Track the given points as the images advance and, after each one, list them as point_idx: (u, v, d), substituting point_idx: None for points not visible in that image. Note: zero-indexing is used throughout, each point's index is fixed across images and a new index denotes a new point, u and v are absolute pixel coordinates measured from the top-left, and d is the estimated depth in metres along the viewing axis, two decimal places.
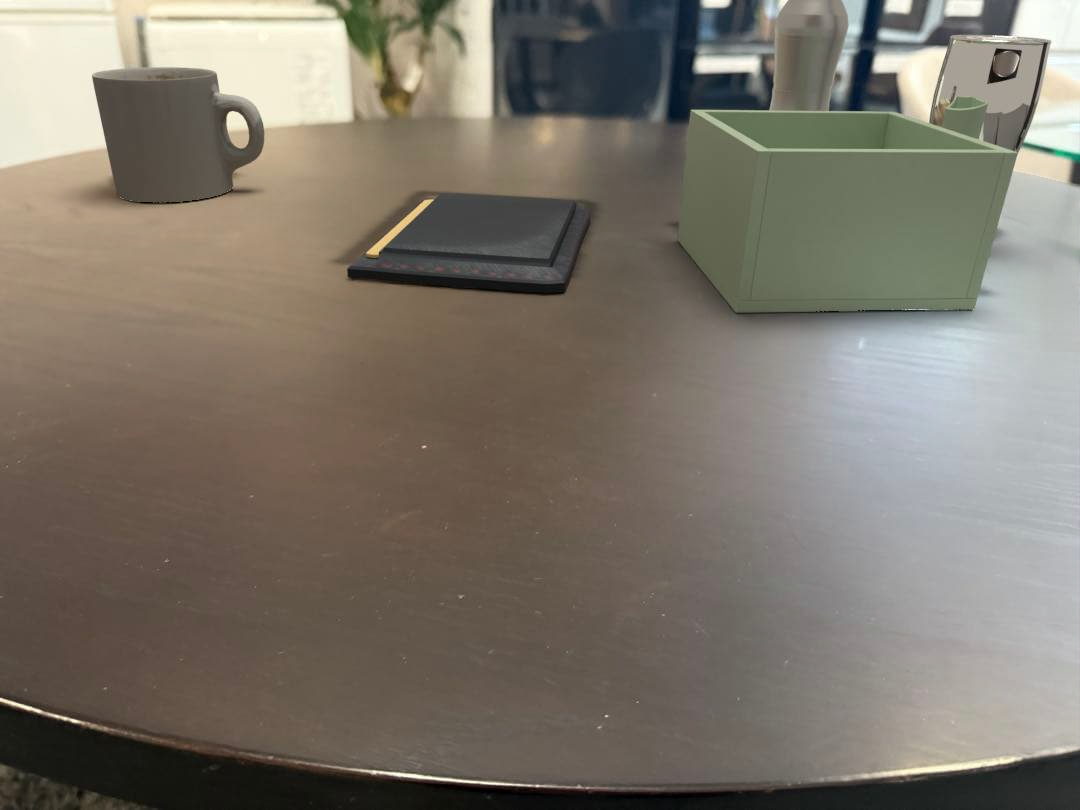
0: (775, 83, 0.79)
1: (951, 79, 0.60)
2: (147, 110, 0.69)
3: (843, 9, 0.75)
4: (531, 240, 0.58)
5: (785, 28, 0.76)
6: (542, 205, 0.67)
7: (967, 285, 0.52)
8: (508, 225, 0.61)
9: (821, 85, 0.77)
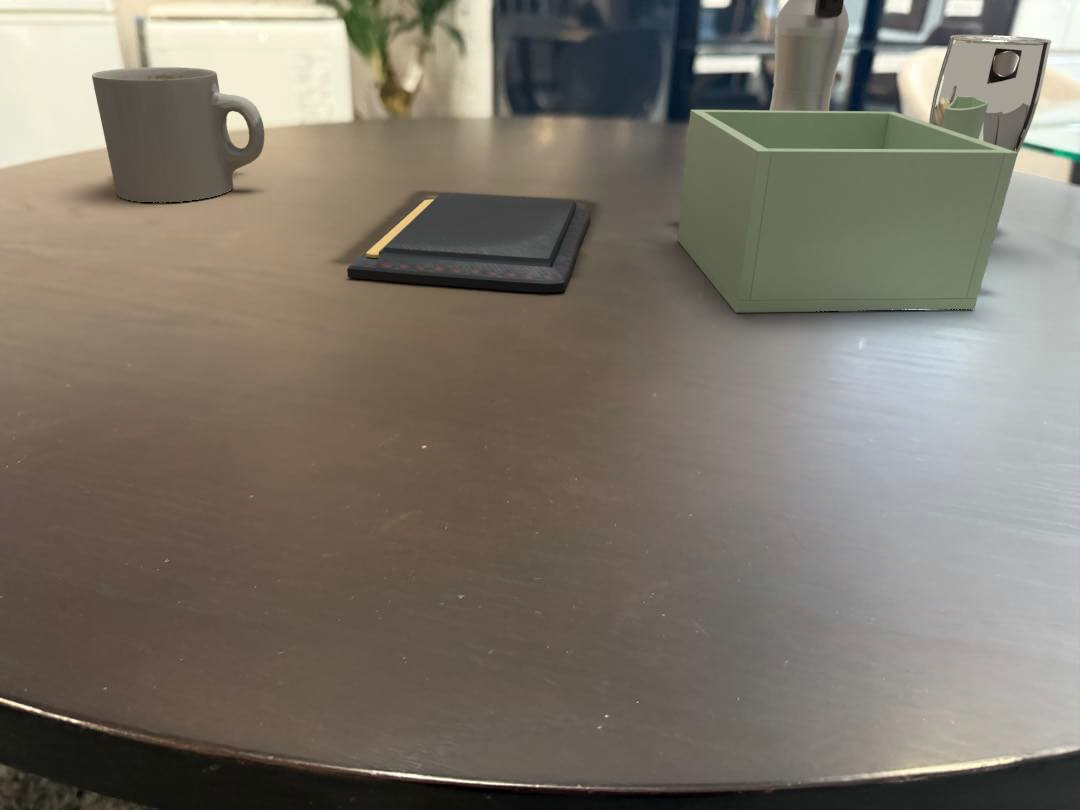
0: (775, 83, 0.79)
1: (950, 79, 0.60)
2: (147, 110, 0.69)
3: (843, 9, 0.75)
4: (531, 240, 0.58)
5: (785, 28, 0.76)
6: (542, 205, 0.67)
7: (967, 285, 0.52)
8: (508, 225, 0.61)
9: (821, 85, 0.77)
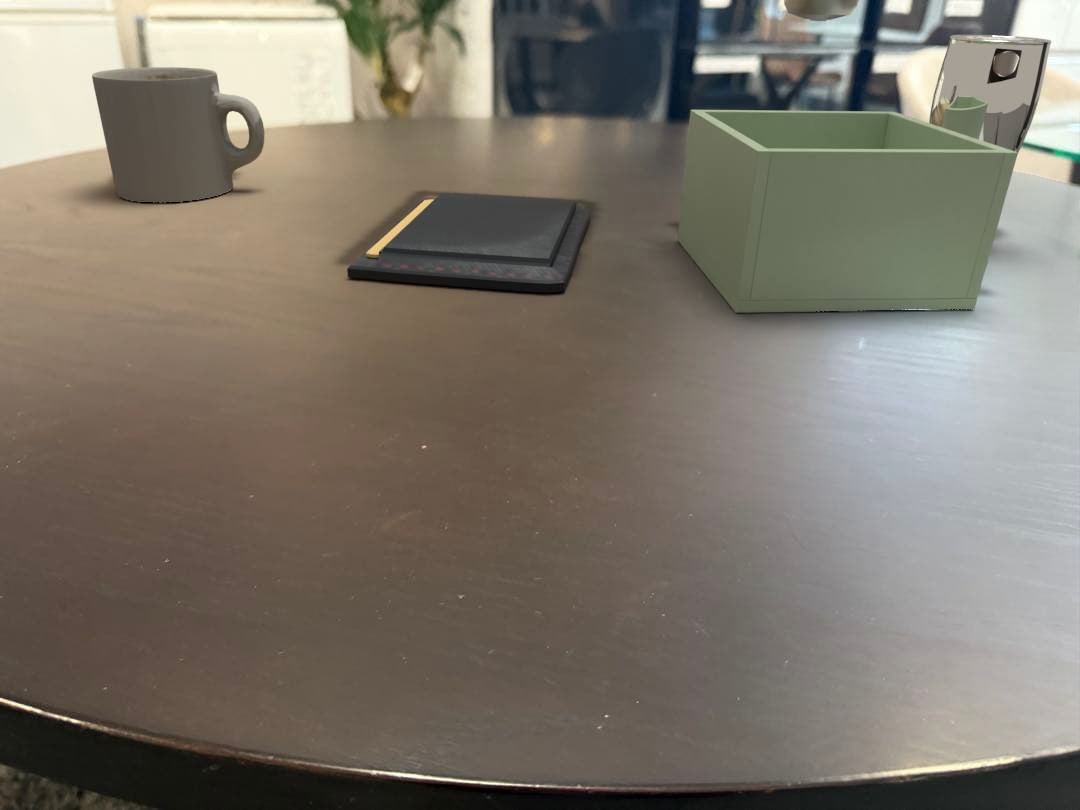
0: None
1: (950, 79, 0.60)
2: (147, 110, 0.69)
3: None
4: (531, 240, 0.58)
5: None
6: (542, 205, 0.67)
7: (967, 285, 0.52)
8: (508, 225, 0.61)
9: None
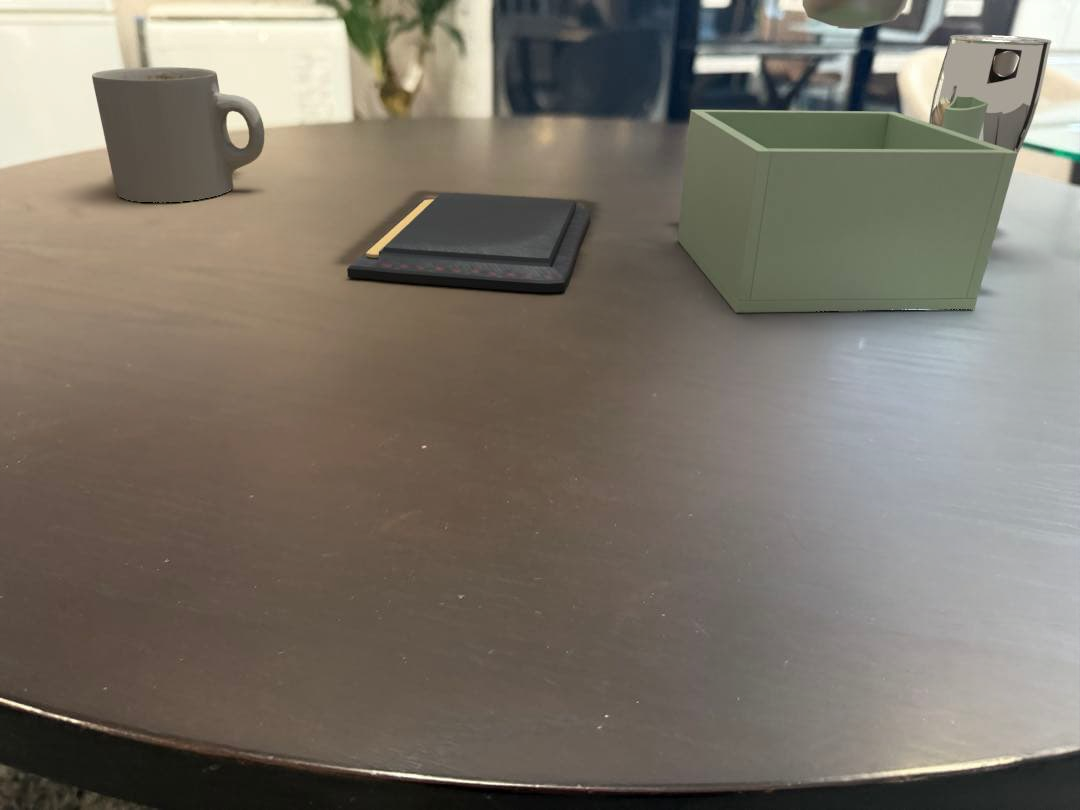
0: None
1: (950, 79, 0.60)
2: (147, 110, 0.69)
3: None
4: (531, 240, 0.58)
5: None
6: (542, 205, 0.67)
7: (967, 285, 0.52)
8: (508, 225, 0.61)
9: None
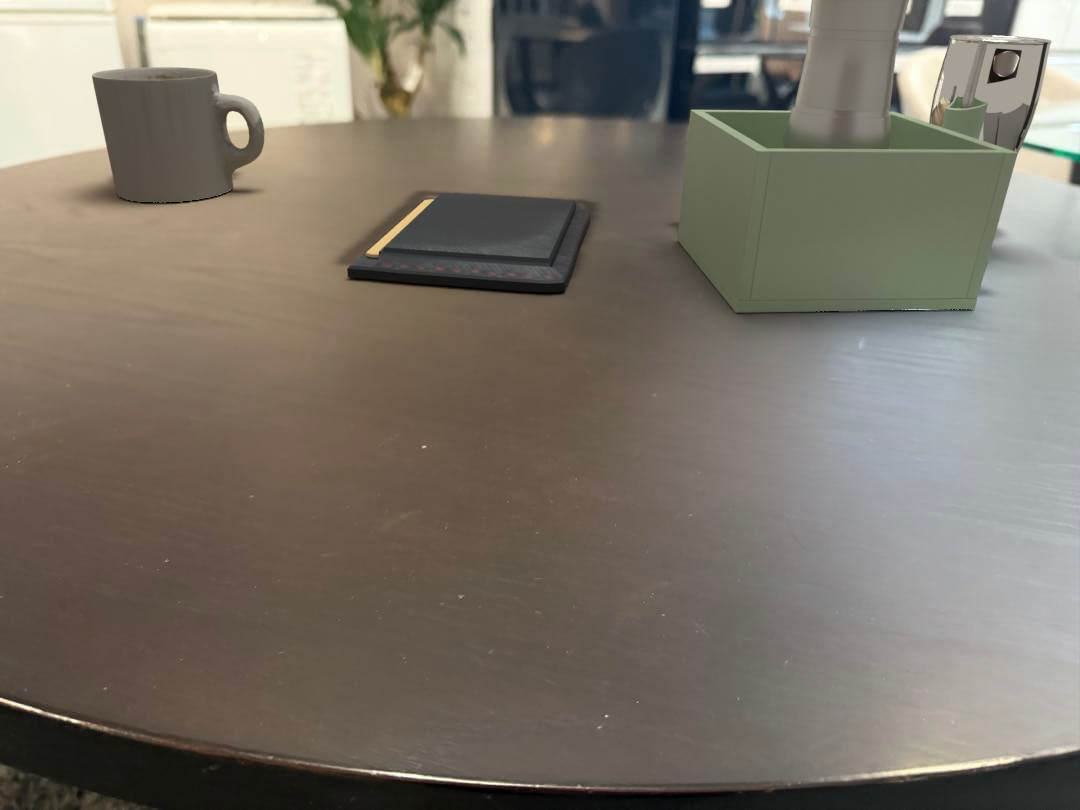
0: (813, 27, 0.52)
1: (950, 79, 0.60)
2: (147, 110, 0.69)
3: None
4: (531, 240, 0.58)
5: None
6: (542, 205, 0.67)
7: (967, 285, 0.52)
8: (508, 225, 0.61)
9: (886, 28, 0.50)
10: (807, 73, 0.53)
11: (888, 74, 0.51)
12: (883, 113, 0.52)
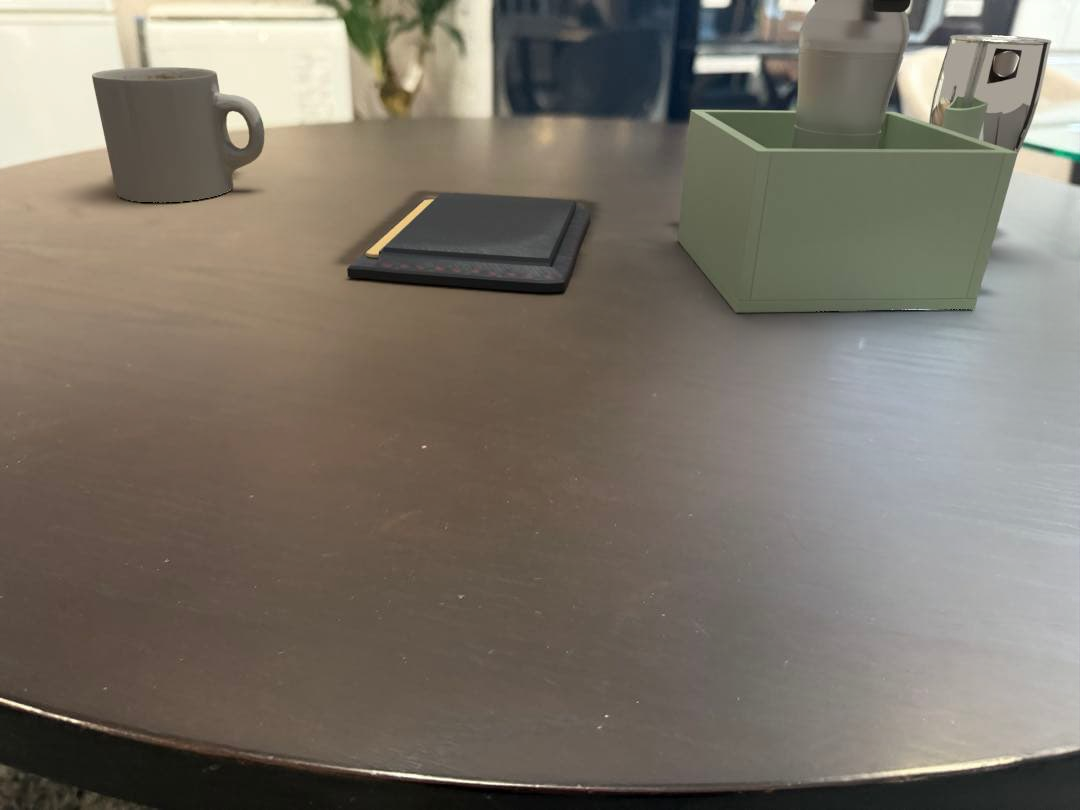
0: (799, 119, 0.54)
1: (950, 79, 0.60)
2: (147, 110, 0.69)
3: None
4: (531, 240, 0.58)
5: (815, 39, 0.51)
6: (542, 205, 0.67)
7: (967, 285, 0.52)
8: (508, 225, 0.61)
9: (867, 124, 0.52)
10: None
11: None
12: None
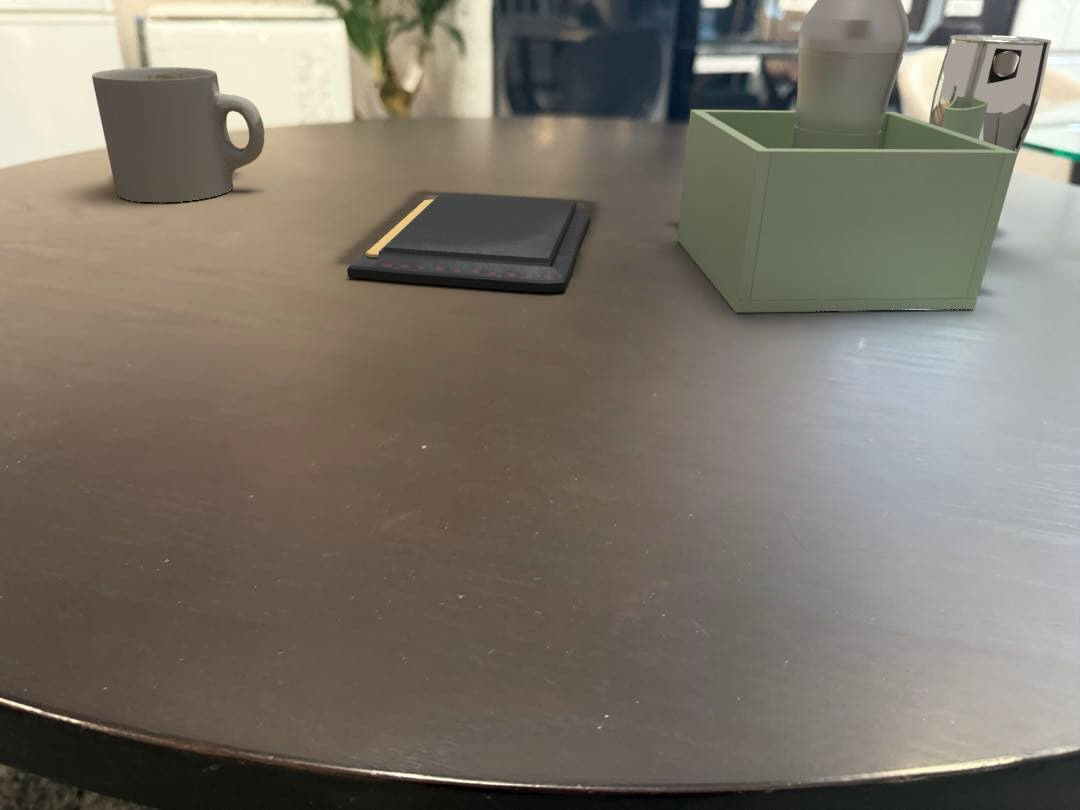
0: (799, 119, 0.54)
1: (951, 79, 0.60)
2: (147, 110, 0.69)
3: (902, 11, 0.50)
4: (531, 240, 0.58)
5: (815, 39, 0.51)
6: (542, 205, 0.67)
7: (967, 285, 0.52)
8: (508, 225, 0.61)
9: (867, 124, 0.52)
10: None
11: None
12: None
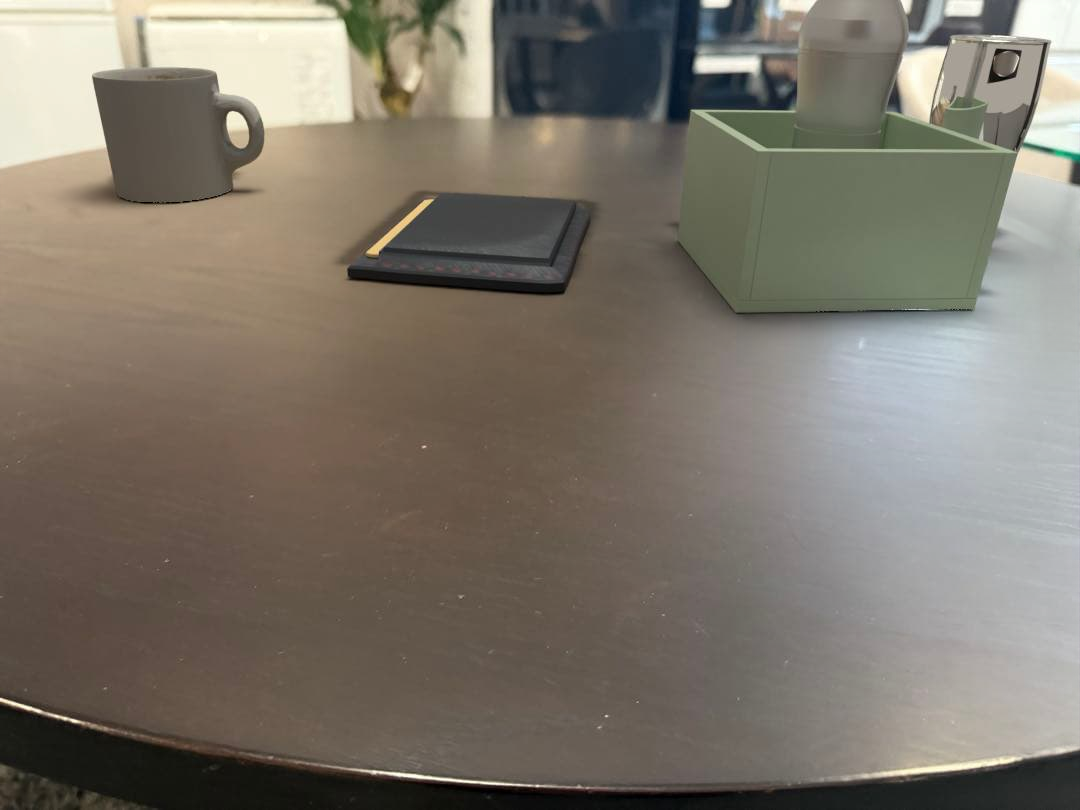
0: (798, 119, 0.54)
1: (951, 79, 0.60)
2: (147, 110, 0.69)
3: (902, 11, 0.50)
4: (531, 240, 0.58)
5: (815, 40, 0.51)
6: (542, 205, 0.67)
7: (967, 285, 0.52)
8: (508, 225, 0.61)
9: (867, 124, 0.52)
10: None
11: None
12: None
